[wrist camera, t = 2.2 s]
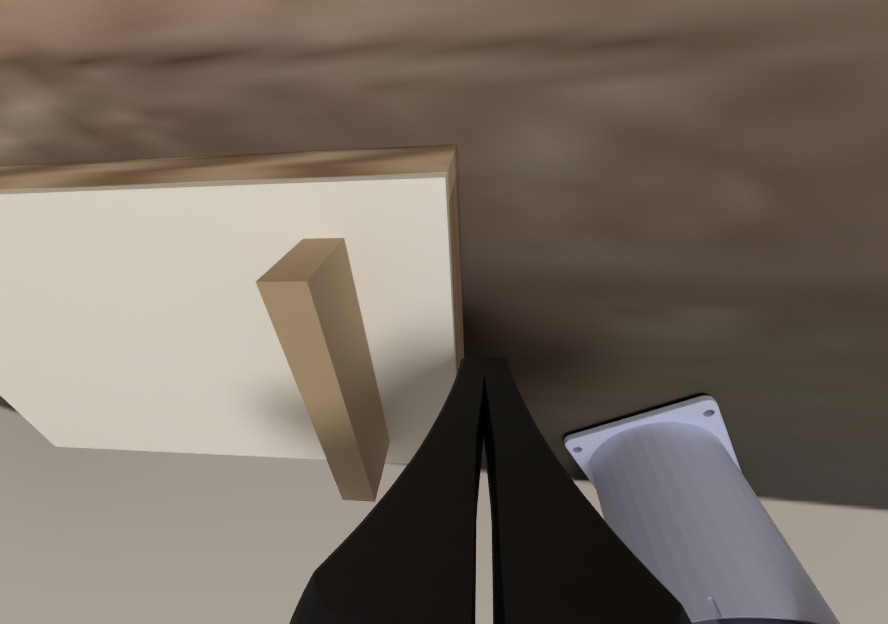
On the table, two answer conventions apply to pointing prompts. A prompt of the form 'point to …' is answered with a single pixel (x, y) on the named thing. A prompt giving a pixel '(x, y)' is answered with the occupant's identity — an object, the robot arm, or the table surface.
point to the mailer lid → (233, 318)
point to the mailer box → (264, 169)
